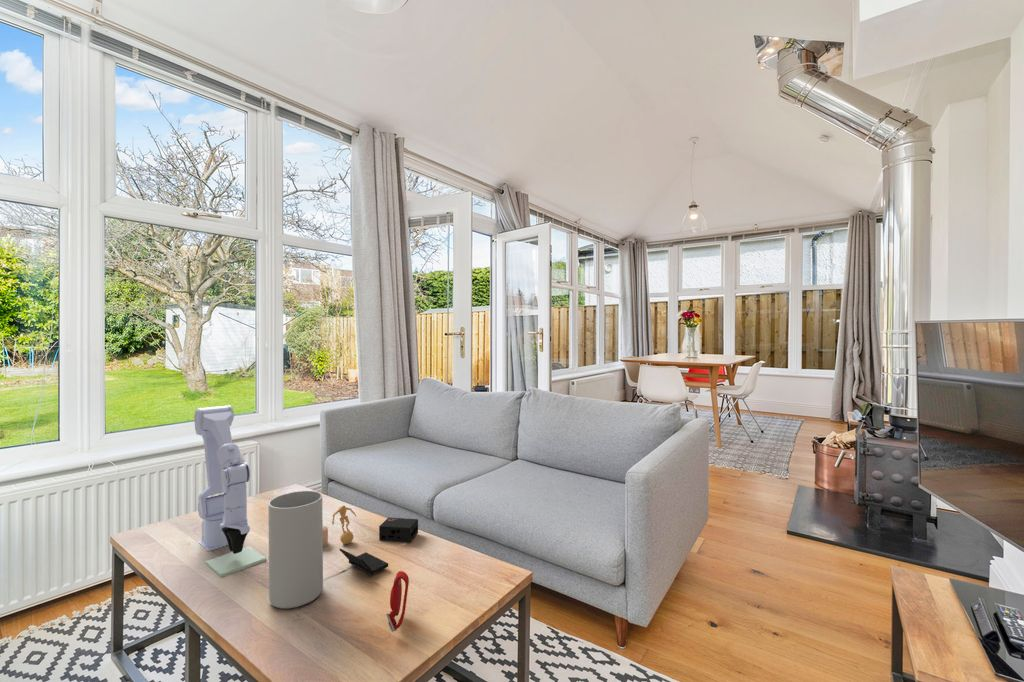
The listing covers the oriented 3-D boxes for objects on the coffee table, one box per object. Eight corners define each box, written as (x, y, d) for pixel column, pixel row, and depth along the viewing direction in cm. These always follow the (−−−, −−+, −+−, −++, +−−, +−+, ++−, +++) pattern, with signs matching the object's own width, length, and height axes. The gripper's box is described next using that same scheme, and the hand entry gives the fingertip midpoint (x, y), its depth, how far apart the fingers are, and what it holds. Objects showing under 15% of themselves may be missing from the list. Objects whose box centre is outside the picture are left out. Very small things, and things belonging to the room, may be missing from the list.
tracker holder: (393, 605, 110) (393, 565, 110) (411, 604, 111) (411, 564, 111) (383, 637, 98) (383, 593, 98) (404, 636, 99) (403, 592, 99)
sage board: (205, 564, 130) (205, 561, 130) (249, 549, 140) (249, 546, 140) (220, 578, 123) (220, 574, 123) (266, 560, 132) (266, 557, 132)
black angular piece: (393, 557, 130) (375, 538, 125) (380, 582, 125) (361, 563, 120) (364, 553, 135) (346, 535, 130) (351, 577, 130) (332, 558, 125)
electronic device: (410, 543, 144) (410, 528, 144) (379, 541, 146) (379, 526, 146) (418, 533, 151) (418, 518, 151) (388, 531, 153) (388, 517, 153)
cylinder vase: (287, 616, 106) (286, 512, 106) (259, 600, 113) (258, 502, 112) (333, 590, 117) (332, 496, 116) (304, 577, 123) (304, 487, 123)
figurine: (338, 550, 139) (337, 512, 139) (328, 544, 143) (328, 507, 143) (361, 540, 145) (361, 504, 145) (351, 535, 149) (351, 500, 149)
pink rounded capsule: (308, 545, 142) (308, 530, 142) (323, 540, 146) (323, 525, 146) (315, 550, 139) (315, 534, 139) (330, 545, 143) (330, 529, 142)
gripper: (211, 504, 133) (211, 549, 133) (230, 515, 124) (230, 564, 124) (237, 497, 138) (237, 540, 138) (257, 508, 129) (257, 554, 129)
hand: (235, 551), depth 131 cm, fingers closed
